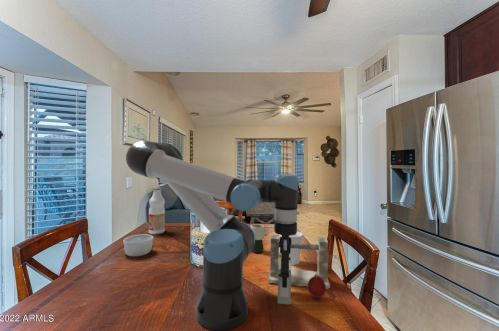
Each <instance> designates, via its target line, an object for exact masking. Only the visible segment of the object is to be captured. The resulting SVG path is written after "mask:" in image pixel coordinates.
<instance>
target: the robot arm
mask: <svg viewBox="0 0 499 331" xmlns="http://www.w3.org/2000/svg"><path fill="white" fill-rule="evenodd" d="M125 161H126V164H127V166H128V168H129V169H130V170H131V171H132V172H133V173H135V174H136V175H139V176H140V175H141V176H143V177H146V178H149V179H150V180H151V179H152V180H153V179H157V181H159V183H160V184H167V185H168V186H169V188H170V189H171V190H172V191H173V192H174V193H175V195H177V196H178V198H179V199H180V200H181V201H182V203H184V204H185V206H186V207H187V208H188V209H189V211H190V212H192V213H193V215H194V216H195V217H196V218H197V219H198V220H199V221H200V222H201V224H202V225H203V226H204V227H205V228H206V229H207V230H208V231H209V233H208V234H207V235H206V236H205V238H204V240H203V247H202V255H203V256H202V262H203V263H202V288H201V289H202V290H201V293H200V296H199V299H198V301H197V303H196V304H197V305H196V320H197V322H198V323H199V324H200V325H201V326H202V327H204V328H206V329H208V330H212V331H227V330H231V329H234V328H237V327H239V326H240V325H242V324H243V323H244V322H245V321H246V320H247V318H248V315H249V304H248V303H249V302H248V300H247V297H246V292H245V291H244V287H243V280H244V279H243V278H244V277H243V276H244V275H243V274H244V273H243V272H244V269H243V268H244V263H245V261H246V260H247V258H248V257H249V255H251V254H252V252H253V251H252V250H253V248H254V244H255V234H254V232H253V230H252V228H251V225H249V224H248V223H246V222H243V221H242V222H241V221H240V220H239V219H238V218H237V217H236V216H235V215H233V214H228V213H227V212H226V211H225V210H224V209H223V208H222V206H220V204H218V203H217V201H216V200H215V199H218V200H221V201H223V202H226V203H229V204H231V205H232V206H233V207H234V208H235V209H236V210H238V211H241V212H248V211H251V210H253V209H255V208H256V207H257V206H258V205H259V204H260V203H271V204H272V203H274V209H273V211H274V216H273V218H274V224H273V225H274V226H273V230H274V231H273V232H274V233H275V235H279V244H280V247H279V254H280V259H281V273H280V274H278V276H280V296H281V297H289V260H291V258H290V257H289V254H290V252H291V238H290V237H289V236H290V235H295V234H296V233H297V231H298V222H297V221H298V215H300V212H299V211H298V199H299V197H298V195H299V186H298V183H299V182H298V181H299V180H298V179H299V178H298V177H297V176H296V175H294V174H276V175H275V176H274V179H272V180H271V179H270V180H266V179H264V180H263V179H251V178H250V179H241V178H236V177H233V176H231V175H229V174H225V173H221V172H219V171H216V170H213V169H210V168H207V167H204V166H200V165H197V164H195V163H192V162H188V161H186V160H184V159H183V154H182V152H181V150H180V149H179V148H178V147H176V146H175V145H173V144H171V143H167V142H157V141H149V140H141V141H137V142H135V143H132V145H131V146H130V147H129V148H128V149H127V152H126V154H125ZM214 198H215V199H214Z"/></svg>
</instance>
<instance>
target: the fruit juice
mask: <svg viewBox="0 0 499 331" xmlns="http://www.w3.org/2000/svg"><path fill="white" fill-rule="evenodd" d="M152 191H153V192H152V196H151V198H150V199H149V202H148V204H149V208H148V233H149V235H159V234H164V232H165V231H166V230H165V228H166V227H165V224H166V221H165V220H166V217H165V216H166V208H165V203H166V200H165V198H164V197H163V195H162V187H160V186H159V187H153V188H152Z"/></svg>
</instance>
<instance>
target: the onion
mask: <svg viewBox="0 0 499 331" xmlns="http://www.w3.org/2000/svg"><path fill="white" fill-rule="evenodd" d="M307 290H308V292H309V293H310V294H311V295H312V296H313V297H314V299H319V298H321V297H323V296H324V295H325V293H326V290H327V289H326V285H325V283H324V281H323V280H322V278H320V277H319V276H318V275H317V274H315V276H314V277H312V278H311V279H310V280H309V282H308V287H307Z"/></svg>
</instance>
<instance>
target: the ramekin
mask: <svg viewBox="0 0 499 331" xmlns="http://www.w3.org/2000/svg"><path fill="white" fill-rule="evenodd" d="M153 241H154V236H153V234H148V233H147V234H133V235H130V236H128V237H125V238H124V239H123V241H122V244H123V247H124V253H125V255H127V256H128V257H141V256H145V255H148V254H149V253H150V252H151V251H152V246H153Z"/></svg>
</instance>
